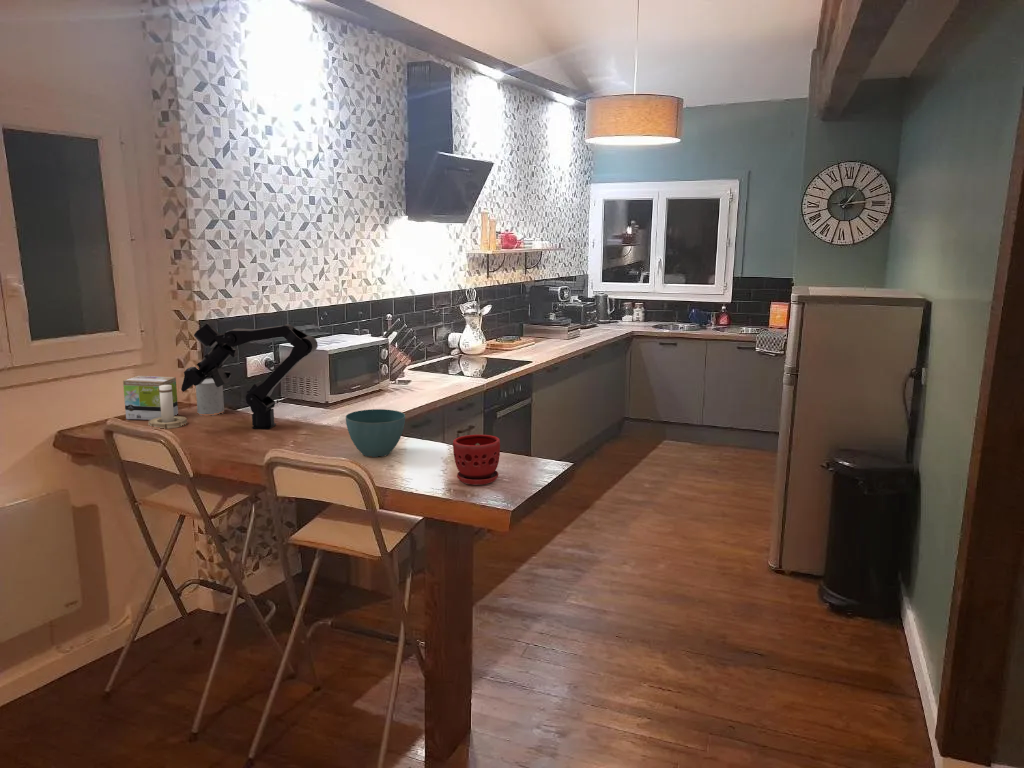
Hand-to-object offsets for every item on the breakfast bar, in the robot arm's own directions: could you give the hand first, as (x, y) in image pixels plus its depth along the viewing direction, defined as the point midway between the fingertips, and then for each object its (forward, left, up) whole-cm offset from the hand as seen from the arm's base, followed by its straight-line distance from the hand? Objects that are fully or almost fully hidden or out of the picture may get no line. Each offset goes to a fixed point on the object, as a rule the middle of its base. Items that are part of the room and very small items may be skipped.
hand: (188, 387), depth 258 cm
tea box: (+19, -9, -14) cm, 25 cm away
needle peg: (+8, 0, -13) cm, 16 cm away
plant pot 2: (-107, +48, -14) cm, 118 cm away
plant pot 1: (-73, +26, -14) cm, 79 cm away
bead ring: (+8, 0, -13) cm, 16 cm away
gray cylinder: (+2, -19, -14) cm, 23 cm away
